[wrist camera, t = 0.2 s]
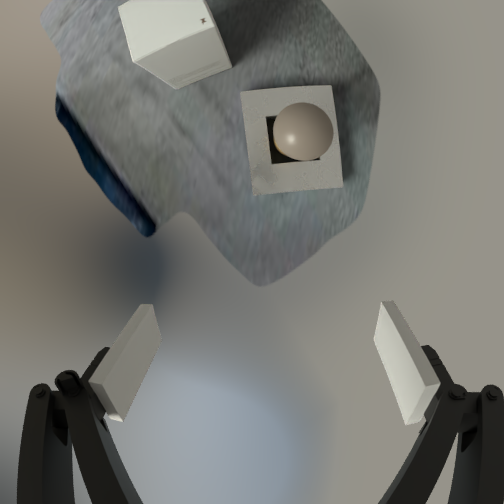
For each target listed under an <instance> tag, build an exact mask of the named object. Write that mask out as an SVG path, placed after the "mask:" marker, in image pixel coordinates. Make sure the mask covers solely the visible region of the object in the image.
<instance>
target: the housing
mask: <svg viewBox="0 0 504 504" xmlns="http://www.w3.org/2000/svg"><path fill="white" fill-rule="evenodd" d="M240 94H241V102H242V109H243V117H244V125H245V132H246V140H247V148H248V156H249V164H250V172H251V180H252V188H253V195H262V194H271V193H281V192H291V191H302V190H313V189H325V188H339V187H343V178H342V166H341V156H340V146H339V137H338V128H337V120H336V113H335V106H334V99H333V92H332V86H331V85H321V86H297V87H282V88H270V89H260V90H251V91H243V92H240ZM299 102H305V103H310V104H313V105H316V106H318V107H319V108H321V109H322V110H323V111H324V112H325V113H326V114H327V115H328V117H329V118H330V120H331V122H332V125H333V132H334V134H333V141H332V143H331V146H330V147H329V149H328V150H327V151H326V152H325V153H324V154H323V155H322V156H320V157H319V158H316V160H309V161H296V162H285V163H275V164H271V156H270V148H269V139H268V132H267V124H266V119H275V118H277V116H278V114H279V113H280V112H281V111H282V110H283V109H284V108H285V107H287V106H289V105H291V104H294V103H299Z"/></svg>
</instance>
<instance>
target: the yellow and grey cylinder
mask: <svg viewBox="0 0 504 504" xmlns="http://www.w3.org/2000/svg"><path fill="white" fill-rule="evenodd" d="M333 134H334V132H333V125H332V122H331V120H330V118H329V117H328V115H327V114H326V113H325V112H324V111H323V110H322V109H321V108H319V107H318V106H316V105H313V104H310V103H305V102H299V103H294V104H291V105H289V106H287V107H285V108H284V109H283V110H282V111H281V112H280V113H279V114H278V116H277V118H276V120H275V122H274V127H273V142H274V146H275V148H276V149H277V150H278V151H279V152H280V153H281V154H283V155H285V156H288V157H290V158H293V159H296V160H302V161H308V160H313V159H316V158H319V157H320V156H322V155H323V154H324V153H325V152H326V151H327V150H328V149H329V147H330V146H331V143H332V141H333Z"/></svg>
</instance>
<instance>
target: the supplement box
mask: <svg viewBox="0 0 504 504" xmlns="http://www.w3.org/2000/svg"><path fill="white" fill-rule="evenodd" d="M118 9H119V13H120V17H121V20H122V24H123V27H124V31H125V34H126V38H127V42H128V46H129V49H130V53H131V57H132V60H133V62H134V63H136V64H138V65H139V66H141V67H143V68H144V69H146V70H147V71H149V72H150V73H152V74H154V75H155V76H157V77H158V78H160V79H161V80H163V81H164V82H166V83H167V84H169V85H170V86H172V87H173V88H174V89H176V90H177V89H179V88H182V87H184V86H186V85H189V84H191V83H193V82H196V81H198V80H201V79H203V78H206V77H209V76H211V75H214V74H216V73H219V72H222V71H225V70H227V69H230V68H232V64H231V62H230V59H229V56H228V53H227V51H226V48H225V45H224V43H223V40H222V37H221V35H220V32H219V30H218V27H217V25H216V22H215V20H214V18H213V15H212V13H211V11H210V9H209V6H208V4H207V2H206V0H130V1H128V2H126V3H124V4H122V5H121V6H119V7H118Z"/></svg>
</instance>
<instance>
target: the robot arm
mask: <svg viewBox="0 0 504 504" xmlns="http://www.w3.org/2000/svg"><path fill="white" fill-rule="evenodd" d="M161 342H162V339H161V335H160V332H159V328H158V324H157V321H156V317H155V313H154V309H153V305H151V304H141V305H140V306H139V307H138V309H137V310H136V312H135V313H134V315H133V316H132V317H131V319H130V320H129V322H128V323H127V324H126V326H125V327H124V329H123V330H122V332H121V333H120V335H119V336H118V338H117V339H116V341H115V342H114V343H113V345H112V346H111V348H109V347H105V348H103V349H102V350H101V351H99V352H98V354H97V355H96V357H95V358H94V360H93V361H92V362H91V365H89V367H88V368H87V369H86V371H85V372H84V374H83V375H82V377H81V378H79V376H78V374H77V373H76V372H75V371H73V370H66V371H63V372H61V373H60V374H59V375H58V376H57V377H56V379H55V385H56V386H57V388H58V390H59V391H52V390H51V389H50V387H49V386H48V385H47V384H43V383H41V384H38V385H36V386H34V387H33V388H32V390H31V391H30V395H29V399H28V404H27V409H26V414H25V419H24V425H23V432H22V439H21V446H20V455H19V466H18V479H17V480H18V481H17V504H75V499H74V487H73V471H72V470H73V469H72V444H73V447H74V451H75V455H76V458H77V461H78V464H79V468H80V471H81V474H82V477H83V480H84V483H85V485H86V488H87V491H88V494H89V496H90V499H91V502H92V504H143V503H142V501H141V499H140V497H139V495H138V493H137V492H136V489H135V488H134V486H133V484H132V482H131V480H130V478H129V476H128V473H127V471H126V469H125V467H124V465H123V463H122V461H121V459H120V456H119V454H118V451H117V449H116V447H115V444H114V442H113V439H112V437H111V434H110V432H109V429H108V426H107V424H106V421H105V419H104V418H103V417H104V415H105V412H107V414H108V416H109V417H110V419H113V420H117V421H121V422H124V419H125V417H126V415H127V413H128V411H129V409H130V406H131V404H132V402H133V400H134V398H135V396H136V393H137V392H138V389H139V387H140V385H141V383H142V381H143V379H144V377H145V375H146V373H147V371H148V369H149V367H150V364H151V362H152V360H153V358H154V356H155V354H156V352H157V350H158V348H159V346H160V344H161ZM374 342H375V344H376V347H377V349H378V352H379V354H380V357H381V359H382V362H383V364H384V367H385V370H386V372H387V374H388V377H389V380H390V382H391V385H392V388H393V391H394V394H395V396H396V399H397V402H398V405H399V407H400V410H401V413H402V416H403V419H404V422H405V425H408V424H413V423H417V422H419V421H420V420H421V419H422V417H423V415H424V416H425V418H426V422H425V424H424V425H423V427H422V428H421V430H420V432H419V433H420V434H419V436H418V438H417V440H416V442H415V444H414V446H413V448H412V450H411V452H410V453H409V455H408V457H407V459H406V460H405V462H404V464H403V466H402V467H401V469H400V471H399V472H398V474H397V476H396V477H395V479H394V480H393V482H392V484H391V485H390V487H389V488H388V490H387V491H386V493H385V494H384V496H383V497H382V499H381V500H380V502H379V503H378V504H425V503H426V502H427V500H428V498H429V496H430V494H431V492H432V490H433V488H434V486H435V484H436V482H437V480H438V478H439V476H440V474H441V471H442V469H443V467H444V465H445V463H446V460H447V458H448V455H449V453H450V450H451V448H452V445H453V443H454V440H455V437H456V435H457V433H459V434H458V444H457V453H456V461H455V468H454V474H453V480H452V485H451V491H450V495H449V500H448V504H503V502H504V397H503V393H502V391H501V390H500V388H498V387H497V386H495V385H487V386H485V387H484V388H483V389H482V391H481V392H467V391H466V389H465V388H464V387H462V386H460V385H458V384H454V382H453V381H452V379H451V377H450V375H449V373H448V372H447V370H446V368H445V366H444V365H443V363H442V361H441V360H440V359H439V356H438V354H437V353H436V351H435V350H434V349H433V348H431V347H430V346H429V345H425V346H420V344H419V342H418V341H417V339H416V337H415V336H414V334H413V332H412V330H411V329H410V327H409V325H408V324H407V322H406V320H405V319H404V317H403V316H402V314H401V312H400V311H399V309H398V307H397V306H396V304H395V303H394V301H384V302H381V307H380V312H379V317H378V322H377V326H376V331H375V335H374Z"/></svg>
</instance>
